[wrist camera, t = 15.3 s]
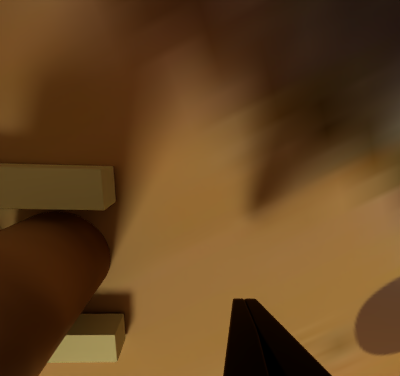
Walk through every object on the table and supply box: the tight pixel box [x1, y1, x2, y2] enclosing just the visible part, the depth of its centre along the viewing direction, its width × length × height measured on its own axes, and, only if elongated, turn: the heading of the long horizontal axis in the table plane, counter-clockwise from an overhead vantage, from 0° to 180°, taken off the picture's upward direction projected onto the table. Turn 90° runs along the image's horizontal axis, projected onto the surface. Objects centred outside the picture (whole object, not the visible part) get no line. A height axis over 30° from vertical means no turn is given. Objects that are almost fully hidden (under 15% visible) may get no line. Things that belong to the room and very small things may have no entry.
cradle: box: [0, 163, 125, 363], centre depth 9 cm, size 10×8×1 cm
